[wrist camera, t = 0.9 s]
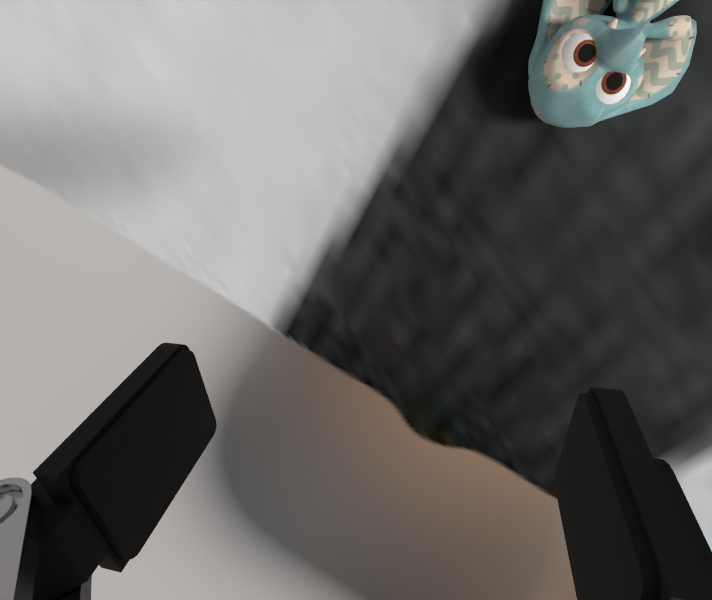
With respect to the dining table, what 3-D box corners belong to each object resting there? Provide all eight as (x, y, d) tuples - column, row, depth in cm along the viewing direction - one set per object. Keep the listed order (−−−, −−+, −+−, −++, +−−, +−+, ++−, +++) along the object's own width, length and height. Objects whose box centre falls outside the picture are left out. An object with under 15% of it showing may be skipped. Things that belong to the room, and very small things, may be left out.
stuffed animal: (836, -19, 20) (626, 179, 25) (731, 15, 27) (580, 166, 31) (694, -194, 19) (495, 52, 23) (618, -113, 25) (475, 67, 30)
